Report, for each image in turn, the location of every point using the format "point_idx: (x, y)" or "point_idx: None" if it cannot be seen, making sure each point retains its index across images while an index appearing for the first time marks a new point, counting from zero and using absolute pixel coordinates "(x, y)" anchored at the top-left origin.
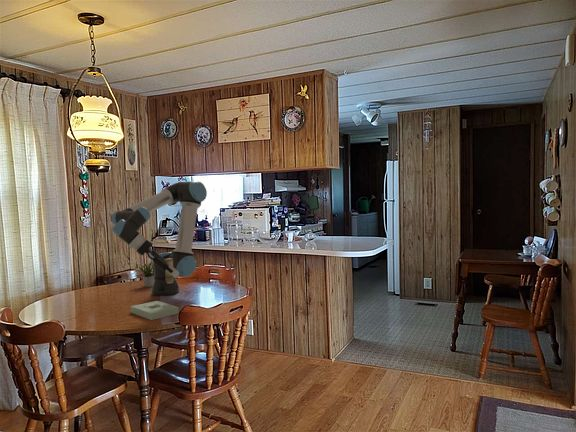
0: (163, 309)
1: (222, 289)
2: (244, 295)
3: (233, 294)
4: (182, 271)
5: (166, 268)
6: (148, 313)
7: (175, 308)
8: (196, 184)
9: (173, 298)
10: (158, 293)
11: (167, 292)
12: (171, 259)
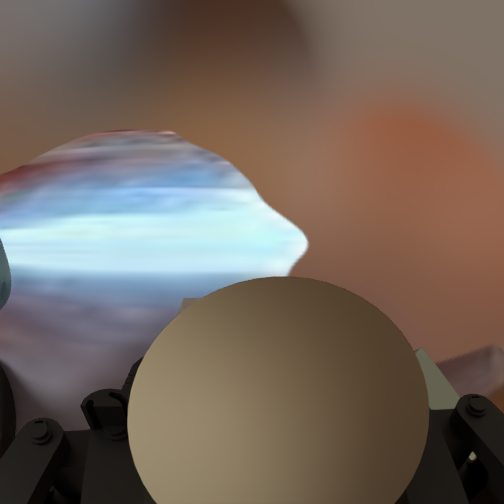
0: (449, 408)
1: (41, 193)
2: (171, 134)
3: (136, 160)
4: (1, 283)
5: None
6: (473, 455)
7: (430, 360)
8: None
9: (78, 396)
10: (5, 449)
11: (6, 409)
12: (373, 313)
